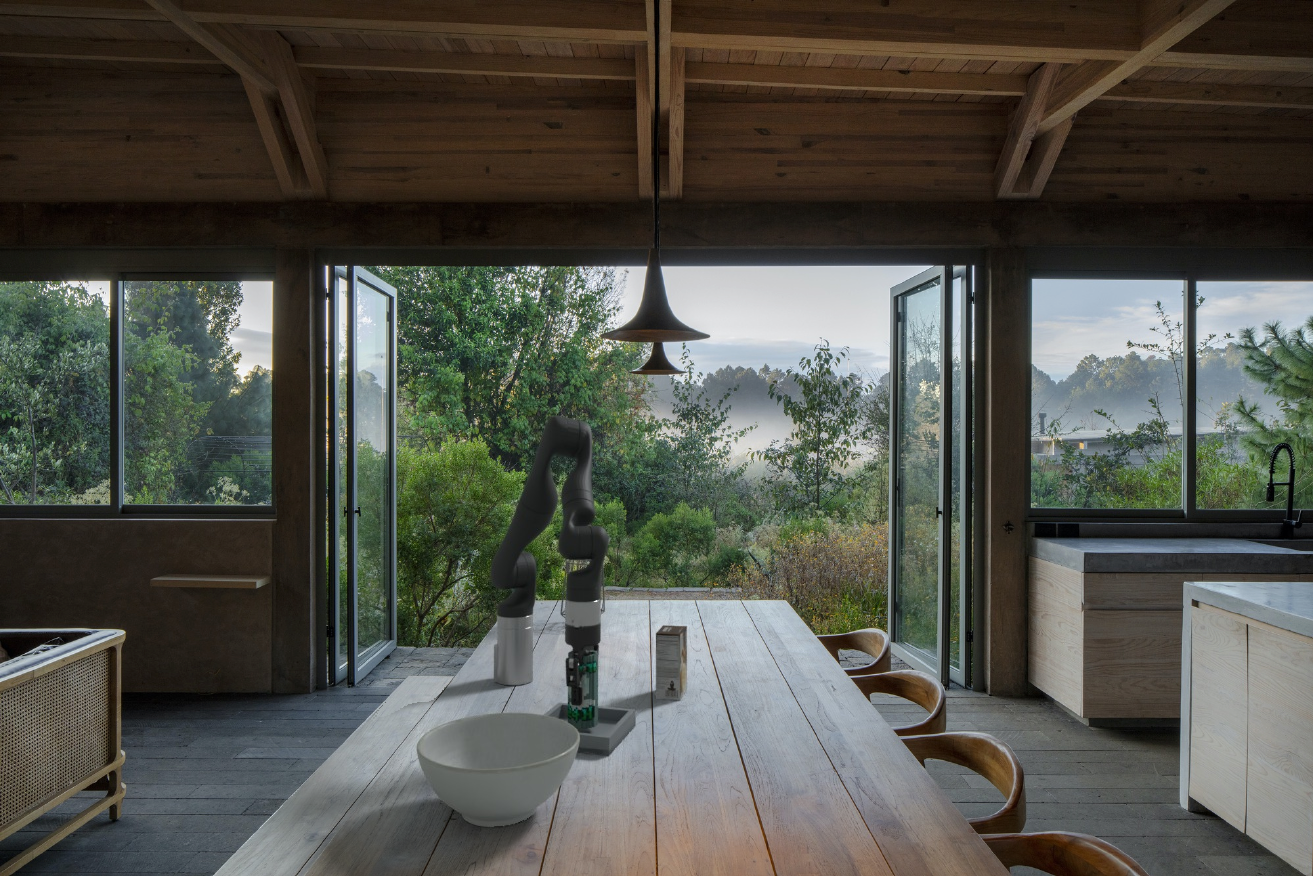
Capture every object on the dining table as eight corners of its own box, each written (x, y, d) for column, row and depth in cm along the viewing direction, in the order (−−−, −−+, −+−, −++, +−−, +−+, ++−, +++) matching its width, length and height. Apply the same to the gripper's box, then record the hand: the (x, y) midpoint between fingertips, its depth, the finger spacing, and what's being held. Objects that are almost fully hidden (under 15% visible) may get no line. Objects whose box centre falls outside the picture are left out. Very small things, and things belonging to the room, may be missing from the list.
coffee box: (662, 688, 207) (662, 624, 207) (687, 689, 205) (687, 625, 206) (655, 699, 198) (655, 632, 198) (681, 701, 196) (681, 633, 197)
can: (563, 727, 171) (563, 655, 171) (576, 717, 177) (576, 648, 177) (589, 730, 169) (590, 657, 169) (601, 721, 175) (602, 650, 175)
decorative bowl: (432, 780, 149) (433, 714, 150) (580, 776, 152) (580, 710, 152) (399, 853, 123) (399, 772, 123) (578, 846, 125) (579, 767, 125)
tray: (525, 746, 166) (525, 729, 166) (558, 718, 184) (558, 702, 184) (609, 755, 162) (609, 737, 162) (635, 725, 179) (635, 709, 179)
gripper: (578, 612, 181) (577, 688, 181) (553, 626, 167) (552, 709, 167) (610, 614, 179) (610, 691, 179) (587, 629, 165) (587, 712, 165)
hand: (582, 699), depth 173 cm, fingers closed on can, 6 cm apart
